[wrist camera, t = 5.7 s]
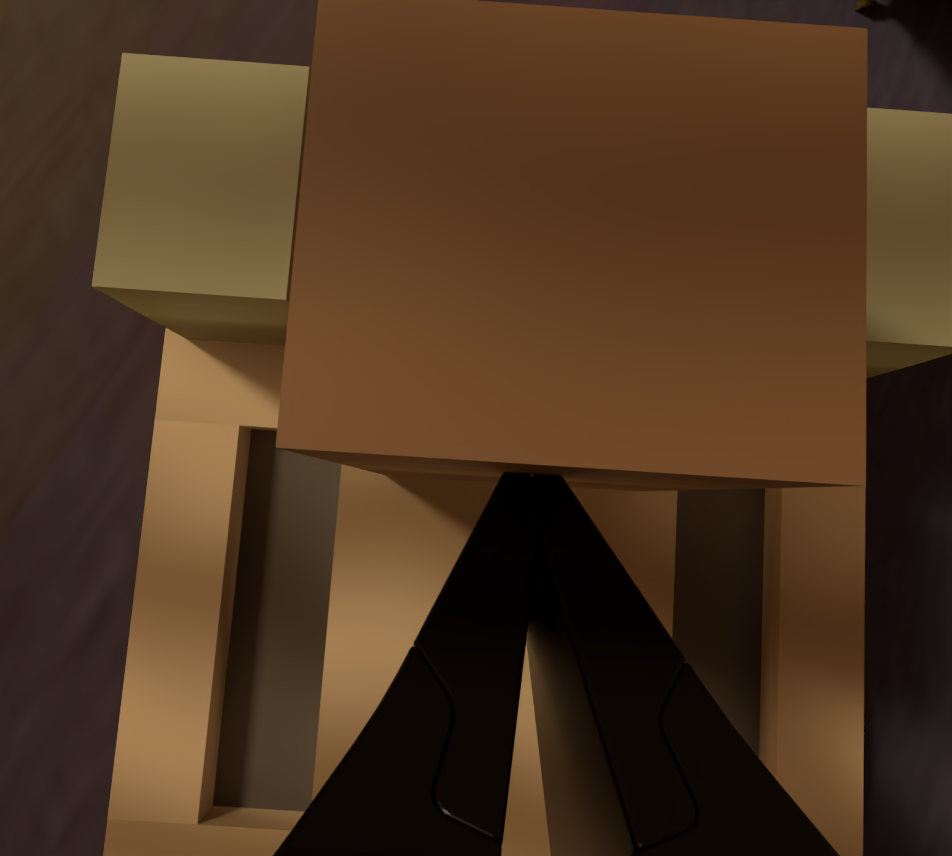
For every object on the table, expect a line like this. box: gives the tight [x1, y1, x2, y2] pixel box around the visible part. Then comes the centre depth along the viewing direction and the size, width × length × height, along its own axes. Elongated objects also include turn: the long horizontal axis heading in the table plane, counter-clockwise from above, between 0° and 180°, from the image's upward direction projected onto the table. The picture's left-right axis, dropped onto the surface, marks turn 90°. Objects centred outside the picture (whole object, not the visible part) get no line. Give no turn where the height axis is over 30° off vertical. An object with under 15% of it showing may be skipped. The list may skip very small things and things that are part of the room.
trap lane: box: [92, 53, 952, 856], centre depth 14 cm, size 18×17×5 cm
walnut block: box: [275, 0, 867, 491], centre depth 11 cm, size 5×6×9 cm
